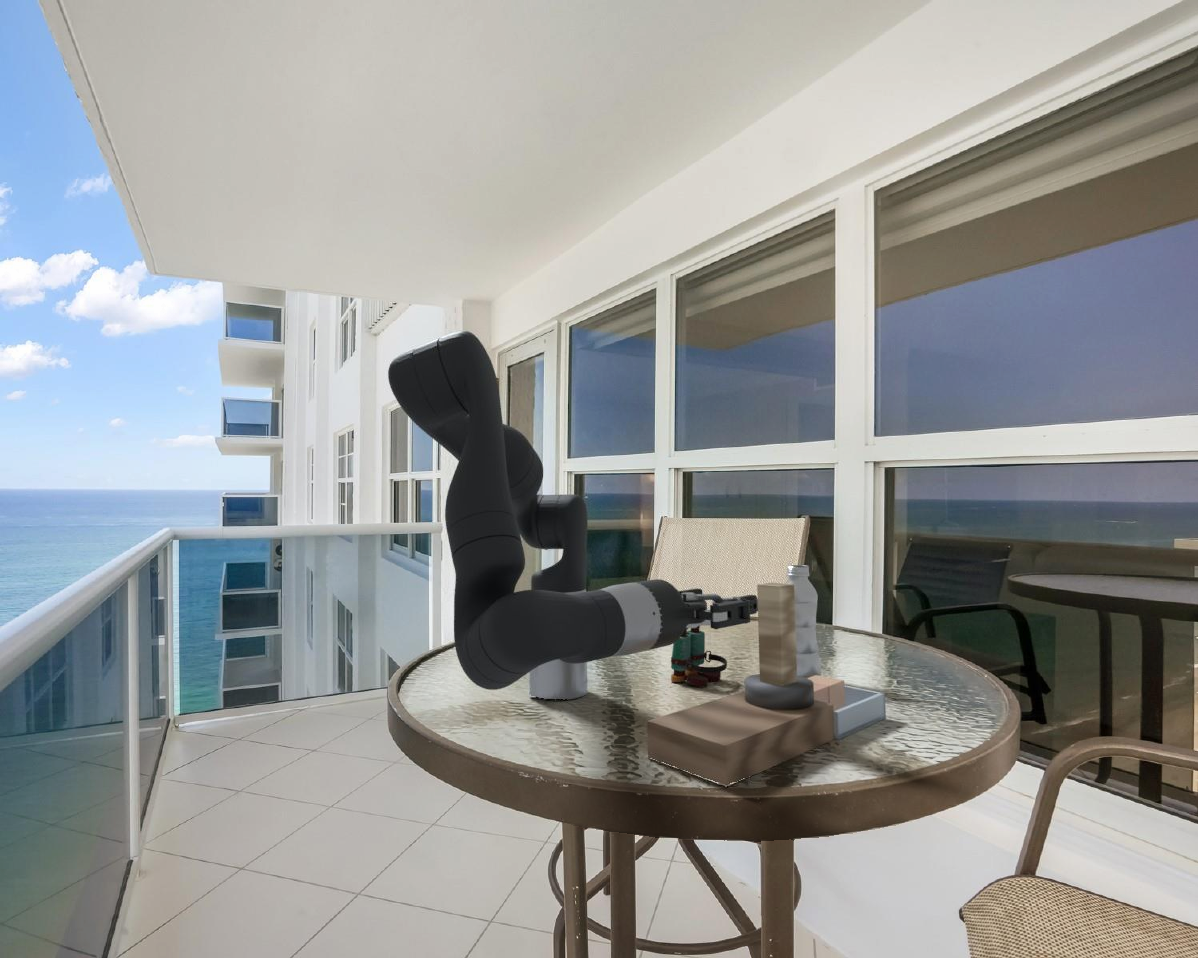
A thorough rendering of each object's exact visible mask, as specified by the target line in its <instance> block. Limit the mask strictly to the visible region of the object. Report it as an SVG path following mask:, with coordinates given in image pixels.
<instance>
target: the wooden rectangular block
mask: <svg viewBox="0 0 1198 958" xmlns="http://www.w3.org/2000/svg"><path fill="white" fill-rule="evenodd" d="M646 732H647V737H646V739H647V759H648V758H652V759H655V760H657V761H659V762H664V763H666V764H669V765H671V766H675V767H677V768H679V769H682V770H685V771H688V772H690V773H692V774H696V775H699V776H701V777H703V778H707V779H710V780H713V781H715V782H720V783H722V784H725V785H728V784H730V783H732V782H737V781H739V780H741V779H743V778H747V779H749V778H750V777H749V776H751V775H754V774H756V775H758V774H760V773H762V771H763V772H765V771H767V770H769V769H772V768H773V766H774V767H775V766H778V765H781V764H782V762H783V763H785V762H787V761H789V760H792V759H795V758H796V757H798V756H800V755H802V754H805V753H807V752H809V751H811V750H814V749H816V748H818V747H821V746H822V745H824V744H827V743H829V742H831V741H834V740H835V739H834V712H833V704H830V703H826V702H821V701H817V700H814V704H813V705H812V706H811V707H809V708H805V709H800V710H772V709H765V708H760V707H757V706H754V705H751V704H749V703H747V702H746V701H745V690H743V691H740V692H737V693H736V692H735V693H734V694H731V695H727V696H724V697H720V698H717V699H713V700H711V701H707V702H705V703H701V704H697V705H695V706H691V707H688V708H685V709H681V710H678V711H675V712H672V713H668V714H665V715H662V716H659V717H658V716H657V717H656V718H652V719H648V720H646ZM659 762H658V763H659ZM764 770H765V771H764ZM757 773H758V774H757ZM754 776H755V775H754ZM748 777H749V778H748Z"/></svg>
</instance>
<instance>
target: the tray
mask: <svg viewBox="0 0 1198 958" xmlns="http://www.w3.org/2000/svg"><path fill="white" fill-rule="evenodd" d="M804 678H805V677H804ZM844 691H845V707H844V708H841V709H839V710H836V711H834V740H842V739H843V738H846V737H848V736H850V735H852V734H854V733H857V732H860V730H863V729H866V728H868V727H870V726H873V725H874V724H877V723H878V722H881V721H883V720H885V719H886V718H887V715H886V711H887V710H886V709H887V708H886V693H884V692H879V691H874V690H870V689H864V688H860V687H855V686H850V685H849V686H848V685H845V684H844Z"/></svg>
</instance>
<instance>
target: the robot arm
mask: <svg viewBox="0 0 1198 958" xmlns="http://www.w3.org/2000/svg"><path fill="white" fill-rule="evenodd" d="M387 371H388V373H387V378H388V383H389V386H390V390H391V391H392V394H393V396H394V398H395V399H396V401H397V403H398V405H399V406H400V408H402V410H403V411H404V412H405V414H406V415H407V416H408V417H409V418H410V420H412V422H413V423H414V424H415V425H416V426H417V427H418V428H419V429H420V430H422V431H423V432H424V433H425V434H426V435H428V436H429V437H430V438H431V439H433V441H435V442H437V444H439V445H440V446H441V447H443V448H444V449H445V450H446V451H447V452H449V453H450V454H451V455H452V456H453V457H454V458H455V459H456V460H457V461H458V463H457V466H456V467H455V470H454V473H453V476H452V477H451V482H450V483H449V487H448V491H447V494H446V499H445V508H444V520H445V529H446V534H447V539H448V543H449V549H450V553H451V554H450V555H451V558H452V563H453V568H454V572H455V582H454V583H455V586H454V595H453V596H454V598H453V599H454V601H453V637H454V639H453V640H454V647H455V652H456V657H457V659H458V662H459V664H460V666H461V668H462V670H463V672H464V673H465V676H467V677H468V679H469V680H470V681H471V682H472V683H473V684H475V685H476V686H478V687H479V688H482V689H485V690H489V691H492V690H493V691H495V690H502V689H504V688H506V687H507V688H508V687H509V686H511V685H513V684H514V683H515V682H517V681H519V680H521V678H523V677H524V676H526V675H527V674H529V696H530V695H531V696H537V697H540V698H539V699H541V698H544V699H543V700H546V699H555V700H554V701H557V700H556V699H563V700H562V701H564V700H565V699H567V700H573V699H578V698H581V697H583V696H585V695H587V694H588V682H589V681H588V679H589V678H588V663H589V662H594V661H597V660H602V659H607V658H611V657H623V656H624V657H625V656H631V655H634V654H638V653H643V652H647V651H651V650H656V649H660V648H664V647H667V646H671V645H673V643H675V642H676V641H677V640H678V639H679V638H680V637H681V635H682V633H683V631H684V630H685V628H688V629H691V628H696V627H698V626H700V627H703V626H710V629H714V630H719V629H723V628H724V629H725V628H729V627H734V626H738V625H743V624H745V625H746V624H749V623H751V615H755V614H758V596H757V595H755V594H747V595H741V596H732V597H722V596H721V595H719V594H717V593H703V590H702V589H701V588H690V589H683V590H679V589H678V588H676V587H675V586H674V585H673V584H672V583H671V582H669V581H666V580H664V579H658V578H657V579H656V578H655V579H649V580H642V581H641V580H640V581H635V582H627V583H620V584H613V585H609V586H607V587H603V588H601V589H596V590H595V589H594V590H589V591H587V584H586V583H587V552H588V551H587V549H588V547H587V545H588V527H589V525H588V522H589V521H588V509H587V504H586V502H585V500H584V499H583V497H582V496H581V495H579V494H538V492H539V490H540V489H541V486H542V483H543V479H544V466H543V462H542V460H541V457H540V456H539V454H538V453H537V451H536V450H535V448H534V447H533V446H532V444H531V442H530V441H529V440H528V438H527V436H525V435H524V434H523V433H522V432H521V431H519V430H518V429H516V428H514V427H512V426H510V425H507V424H505V423H503V416H502V406H501V396H500V389H499V383H498V379H497V378H498V377H497V375H496V372H495V367H494V365H493V363H492V360H491V357H490V355H489V354H488V352H487V350H486V348H485V346H484V345H483V343H482V342H481V340H480V339H479V337H477V336H476V335H475V334H474V333H472V332H470V331H468V330H459V331H456V332H452V333H449V334H446V335H443V336H441V337H439V338H436V339H434V340H432V341H428V342H426V343H424V344H421V345H419V346H416V347H413V348H411V349H409V350H407V351H404V352H402V354H400V355H397V357H395V358H394V359H392V361H391V363H390V364H389V367H388V370H387ZM522 539H523V541H524V542H525V543H526V544H527V545H528V546H530V547H531V548H534V549H538V550H562V555H561V558H560V559H559V560H558V561H557V562H555V564H552V565H551V566H549V567H546V568H544V569H540V570H539V571H535V572H534V573H533V574H532V575H531V580H530V589H524V590H519V591H515V590H516V585H517V583H518V582H519V580H520V578H521V577H522V574H523V573H524V570H525V568H526V557H525V552H524V547H523V542H522ZM707 601H711V602H712V604H710V605H709V609H708V603H707ZM565 701H566V700H565Z"/></svg>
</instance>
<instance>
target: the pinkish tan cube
mask: <svg viewBox="0 0 1198 958" xmlns="http://www.w3.org/2000/svg"><path fill="white" fill-rule="evenodd" d="M813 684H814V683H813ZM814 700H817V701H821V702H826V703H829V692H828V686H825V685H819V684H814Z"/></svg>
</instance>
